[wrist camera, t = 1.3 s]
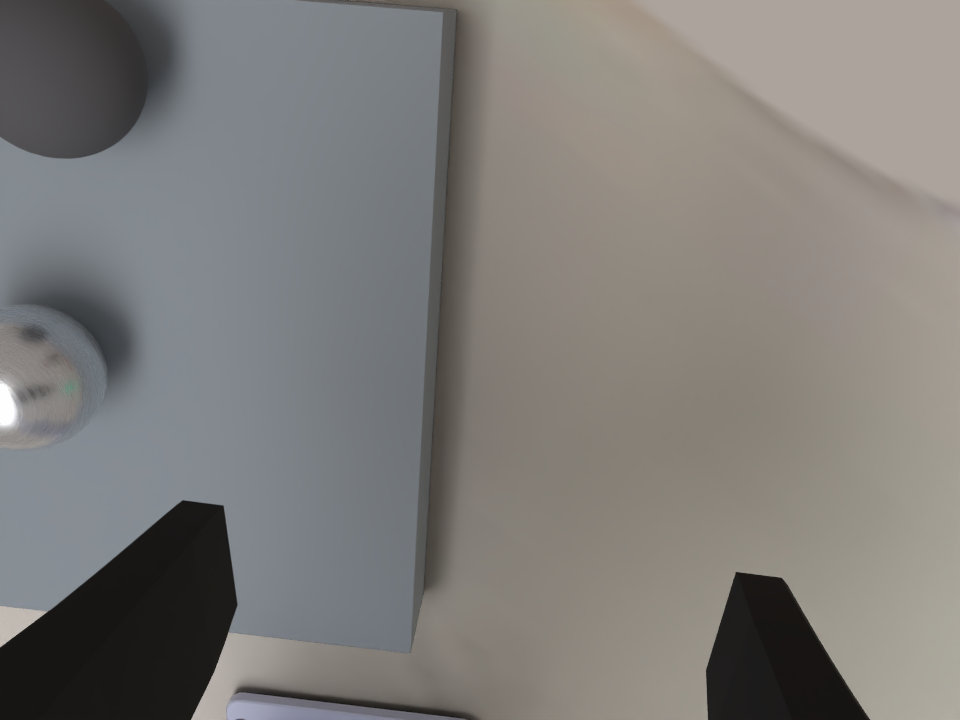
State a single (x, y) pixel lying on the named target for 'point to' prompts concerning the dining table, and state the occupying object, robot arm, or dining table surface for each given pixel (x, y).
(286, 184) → the board
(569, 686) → the dining table surface
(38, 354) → the steel ball
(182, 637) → the robot arm
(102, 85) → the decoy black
